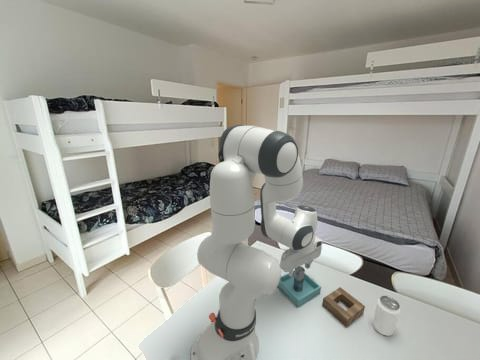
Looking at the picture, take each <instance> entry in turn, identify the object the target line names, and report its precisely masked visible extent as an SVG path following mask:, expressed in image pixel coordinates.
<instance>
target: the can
mask: <svg viewBox="0 0 480 360" xmlns="http://www.w3.org/2000/svg"><path fill="white" fill-rule="evenodd" d="M400 313H401V309H400V303H399V302H398V301H397V300H396V299H395V298H394V297H391V296H390V295H389V296H388V295H382V296H380V298H379V299H378V300H377V302H376V306H375V310H374V313H373V319H372V321H371V323H372V326H373V328H374V330H375V331H376V332H378V333H379V334H381V335H383V336H386V337H387V336H388V337H389V336H392V335H393V334H394V331H395V329H396V324H397V322H398V319H399V317H400Z"/></svg>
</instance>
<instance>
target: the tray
mask: <svg viewBox="0 0 480 360" xmlns="http://www.w3.org/2000/svg"><path fill="white" fill-rule="evenodd" d="M293 272H294V274H295V269H293ZM293 284H294V276H293V277H290V276H289V272H287V273H286V274H284V275H281V278H280V282H279V284H278V286H277V288H278V289H279V290H280V291H281V293H283V294H284V295H285V297H287V298H288V299H289V300H290V302H291V303H292V304H293V305H294V306H295V307H296V308H297V309H298V308H300V307H302V306H304V305H305V304H307V303H309V302H310V301H311V300H313V299H315V298H316V297H318V296H320V295H321V291H322V286H321V285H319V283H317V281H315V280H314V279H313V278H311V277H310V276H309V275H308V274H306V273H304V282H303V290H302V291H301V292H297V291H295V290H294V289H293Z"/></svg>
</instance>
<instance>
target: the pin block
mask: <svg viewBox="0 0 480 360" xmlns="http://www.w3.org/2000/svg"><path fill="white" fill-rule="evenodd" d="M340 302H341V304H343V305H344V306H346V307H347V308H348V309H346V310H345V309H344V308H343V307H342V306H341V305H340V304H339V303H340ZM321 306H322V307H323V308H324V309H325V310H327V312H329V313H330V315H332V316H333V317H334V318H335V320H337V321H338V322H339V323H340V324H342V326H344V327H345V328H347V327H349V326H350V325H351V324H353V323H354V322H355V321H357V319H359V318H360V317H361V316H363V315H364V312H365V308H366V306H365V305H364V304H363V303H362V302H360V301H359V300H358V299H356V298H355V297H354V296H352V295H351V294H350V293H349V292H347V291H346V290H345V289H343V288H342V287H341V286H340V287H338V288H336V289H335V290H334V291H332V292H330V293H329V294H327V295H325V296H324V297H323V298H322V304H321Z"/></svg>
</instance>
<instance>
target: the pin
mask: <svg viewBox="0 0 480 360" xmlns="http://www.w3.org/2000/svg"><path fill="white" fill-rule="evenodd" d="M294 270H295V274H294V284H293V289H294V290H295V291H297V292H301V291H302V290H303V282H304V273H305V272H306V270H305V268H304V267H303V266H302V265H301V266H299V267H297V268H295V269H294ZM305 274H306V273H305Z"/></svg>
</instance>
